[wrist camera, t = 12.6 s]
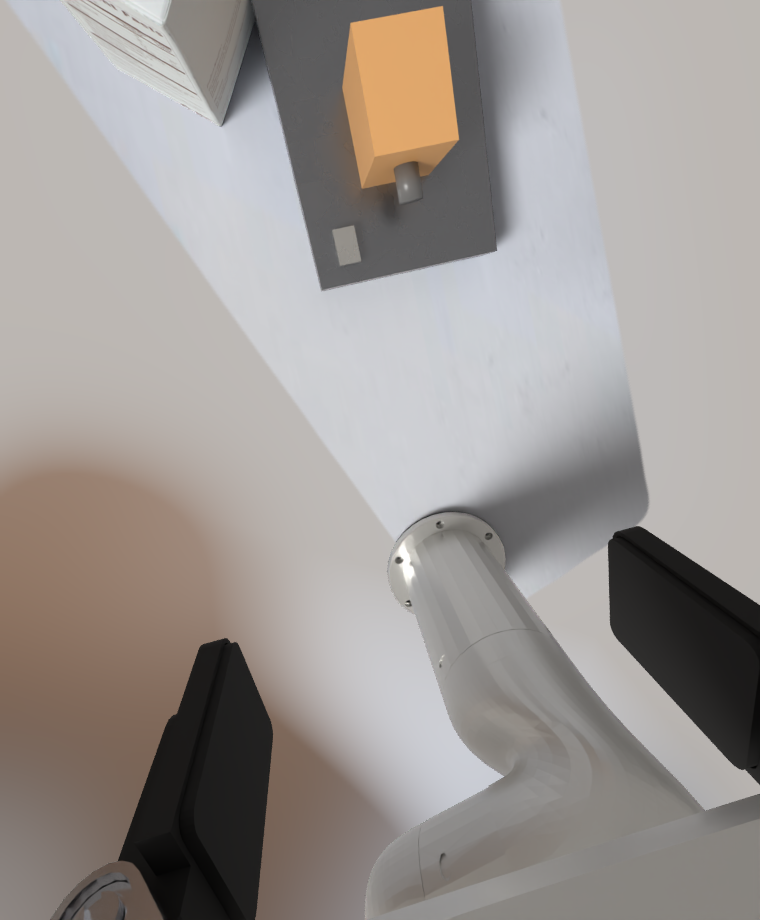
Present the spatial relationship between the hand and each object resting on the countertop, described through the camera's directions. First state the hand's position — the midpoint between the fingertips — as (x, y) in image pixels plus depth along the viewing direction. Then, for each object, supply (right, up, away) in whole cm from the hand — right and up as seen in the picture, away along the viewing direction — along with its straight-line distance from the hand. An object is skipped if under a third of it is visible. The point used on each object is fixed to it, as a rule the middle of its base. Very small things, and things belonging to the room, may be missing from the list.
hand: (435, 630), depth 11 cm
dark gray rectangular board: (-1, +28, +23) cm, 36 cm away
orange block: (-1, +28, +21) cm, 35 cm away
